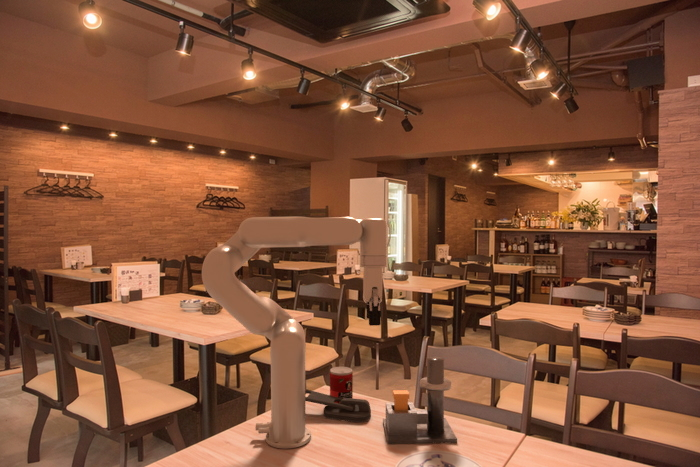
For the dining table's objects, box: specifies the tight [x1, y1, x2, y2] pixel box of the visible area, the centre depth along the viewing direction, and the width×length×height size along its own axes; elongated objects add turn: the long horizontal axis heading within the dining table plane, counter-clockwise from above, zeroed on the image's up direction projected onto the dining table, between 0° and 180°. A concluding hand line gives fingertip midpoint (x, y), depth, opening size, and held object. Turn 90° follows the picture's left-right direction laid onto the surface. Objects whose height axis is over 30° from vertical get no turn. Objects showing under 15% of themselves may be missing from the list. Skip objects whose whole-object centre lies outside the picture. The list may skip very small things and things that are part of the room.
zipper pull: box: [305, 388, 372, 424], centre depth 146 cm, size 9×7×25 cm
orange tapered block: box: [392, 389, 410, 410], centre depth 133 cm, size 4×3×10 cm
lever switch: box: [382, 356, 458, 445], centre depth 133 cm, size 19×14×21 cm
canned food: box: [329, 366, 354, 404], centre depth 157 cm, size 8×8×11 cm
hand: (373, 321), depth 132 cm, fingers open, 9 cm apart
